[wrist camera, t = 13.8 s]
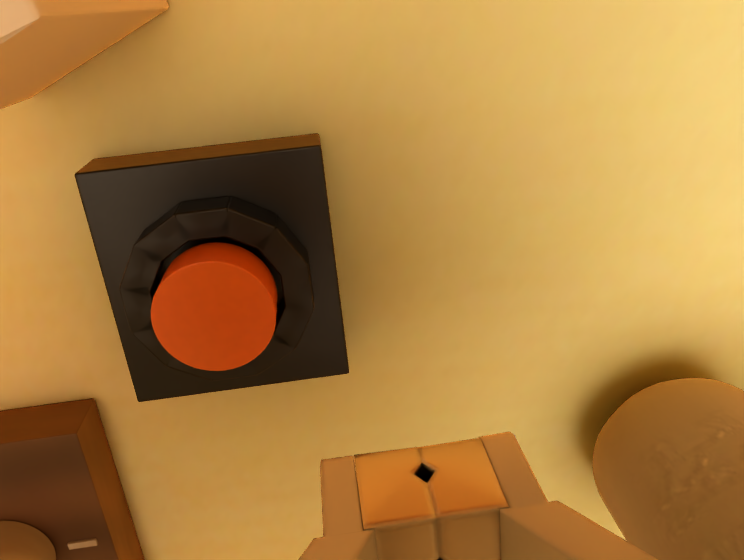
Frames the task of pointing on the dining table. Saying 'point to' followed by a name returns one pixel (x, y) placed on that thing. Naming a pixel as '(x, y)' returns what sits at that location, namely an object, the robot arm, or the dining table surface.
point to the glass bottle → (676, 469)
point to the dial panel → (65, 481)
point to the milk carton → (60, 38)
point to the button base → (225, 225)
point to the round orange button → (215, 307)
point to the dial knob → (24, 542)
